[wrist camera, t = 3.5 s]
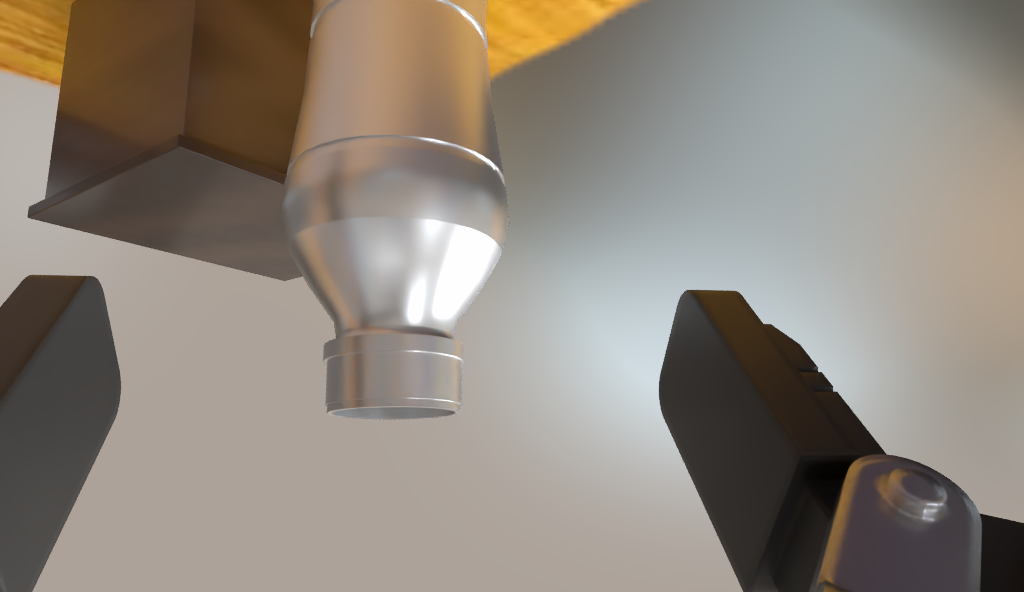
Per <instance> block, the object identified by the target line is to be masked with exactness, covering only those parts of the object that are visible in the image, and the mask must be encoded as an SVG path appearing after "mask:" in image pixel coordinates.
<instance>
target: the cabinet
mask: <svg viewBox="0 0 1024 592" xmlns="http://www.w3.org/2000/svg"><path fill="white" fill-rule="evenodd" d="M312 14H313V0H76V1H74V2H73V3H72V6H71V13H70V21H69V28H68V35H67V43H66V50H65V57H64V65H63V72H62V79H61V87H60V94H59V102H58V110H57V116H56V123H55V131H54V138H53V145H52V153H51V160H50V168H49V175H48V182H47V190H46V197H45V199H44V200H42V201H40V202H38V203H36V204H34V205H32V206H30V207H29V210H28V218H31V219H35V220H39V221H43V222H47V223H52V224H55V225H59V226H63V227H67V228H72V229H76V230H80V231H84V232H88V233H92V234H96V235H100V236H104V237H108V238H112V239H116V240H120V241H124V242H129V243H133V244H137V245H141V246H145V247H149V248H153V249H157V250H161V251H165V252H169V253H173V254H177V255H181V256H185V257H190V258H194V259H198V260H202V261H206V262H210V263H214V264H218V265H222V266H226V267H230V268H235V269H239V270H242V271H246V272H250V273H255V274H259V275H263V276H267V277H271V278H275V279H279V280H283V281H286V280H290V279H294V278H298V277H302V276H303V275H302V274H301V272H300V270H299V268H298V267H297V265H296V263H295V261H294V259H293V258H292V256H291V254H290V252H289V249H288V246H287V242H286V238H285V234H284V230H283V226H282V222H281V218H280V214H281V208H282V200H283V191H284V184H285V178H286V177H287V171H288V165H289V160H290V156H291V151H292V146H293V141H294V137H295V132H296V127H297V123H298V118H299V113H300V109H301V104H302V99H303V94H304V88H305V78H306V69H307V60H308V50H309V44H310V40H311V36H310V32H311V23H312Z"/></svg>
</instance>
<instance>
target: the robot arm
mask: <svg viewBox="0 0 1024 592" xmlns="http://www.w3.org/2000/svg"><path fill="white" fill-rule="evenodd" d="M120 394H121V380H120V371H119V366H118V361H117V356H116V351H115V346H114V341H113V336H112V331H111V326H110V321H109V317H108V312H107V306H106V301H105V297H104V292H103V289H102V286H101V284H100V282H99V281H98V279H97V278H95V277H93V276H59V275H29V276H27V277H26V278H25V279H24V280H23V281H22V282H21V283H20V284H19V286H18V287H17V288H16V289H15V290H14V291H13V293H12V294H11V295H10V297H9V298H8V299H7V300H6V301H5V302H4V303H3V305H2V306H1V307H0V592H32V591H33V589H34V587H35V585H36V583H37V580H38V578H39V576H40V574H41V572H42V570H43V568H44V566H45V564H46V562H47V560H48V558H49V555H50V553H51V551H52V549H53V547H54V545H55V543H56V541H57V539H58V537H59V535H60V533H61V530H62V528H63V526H64V524H65V522H66V520H67V518H68V516H69V514H70V512H71V510H72V507H73V506H74V503H75V501H76V499H77V497H78V495H79V493H80V491H81V489H82V487H83V485H84V483H85V481H86V479H87V476H88V474H89V472H90V470H91V468H92V466H93V464H94V462H95V460H96V458H97V456H98V454H99V451H100V449H101V447H102V445H103V443H104V441H105V439H106V437H107V435H108V433H109V431H110V429H111V426H112V424H113V422H114V420H115V418H116V415H117V412H118V407H119V402H120ZM659 400H660V406H661V411H662V414H663V417H664V419H665V422H666V424H667V426H668V428H669V430H670V433H671V435H672V437H673V439H674V441H675V443H676V446H677V448H678V450H679V452H680V454H681V457H682V459H683V461H684V463H685V465H686V467H687V470H688V472H689V474H690V476H691V478H692V480H693V483H694V485H695V487H696V489H697V491H698V493H699V496H700V498H701V500H702V502H703V504H704V507H705V509H706V511H707V513H708V515H709V518H710V520H711V522H712V524H713V526H714V528H715V531H716V533H717V535H718V537H719V539H720V541H721V544H722V546H723V548H724V550H725V553H726V555H727V557H728V559H729V561H730V563H731V566H732V568H733V570H734V572H735V574H736V577H737V578H738V581H739V583H740V585H741V587H742V590H743V592H1024V523H1020V522H1016V521H1011V520H1007V519H1002V518H998V517H993V516H988V515H983V514H979V512H978V510H977V508H976V506H975V505H974V503H973V501H972V500H971V499H970V498H969V497H968V495H967V494H966V493H965V492H964V491H963V490H961V488H960V487H958V486H957V485H956V484H955V483H954V482H952V481H951V480H950V479H948V478H947V477H945V476H944V475H942V474H941V473H939V472H937V471H935V470H933V469H932V468H930V467H928V466H925V465H923V464H921V463H919V462H916V461H913V460H910V459H907V458H902V457H898V456H893V455H887V454H886V453H885V452H884V451H883V449H882V448H881V447H880V446H879V444H878V443H877V442H876V441H875V439H874V438H873V437H872V435H871V434H870V433H869V431H868V430H867V429H866V428H865V426H864V425H863V424H862V423H861V421H860V420H859V419H858V418H857V416H856V415H855V414H854V413H853V411H852V410H851V409H850V407H849V406H848V405H847V404H846V402H845V401H844V400H843V399H842V397H841V396H840V395H839V394H838V392H833V386H832V385H831V383H830V382H829V381H828V380H827V378H826V377H825V376H824V375H823V373H822V372H818V367H817V366H816V364H815V363H814V362H813V361H812V360H811V358H810V357H809V356H808V354H807V353H806V352H805V351H804V349H803V348H802V347H801V345H800V344H798V343H797V342H795V341H794V340H793V339H791V338H790V337H788V336H787V335H785V334H784V333H783V332H781V331H780V330H778V329H777V328H775V327H774V326H773V325H771V324H763V323H762V322H761V320H760V319H759V318H758V316H757V315H756V314H755V312H754V311H753V310H752V308H751V307H750V306H749V304H748V303H747V302H746V300H745V299H744V298H743V296H742V295H741V294H740V293H739V292H737V291H714V290H687V291H685V292H684V293H683V294H682V296H681V297H680V300H679V302H678V305H677V309H676V313H675V317H674V321H673V325H672V329H671V334H670V337H669V342H668V346H667V350H666V354H665V358H664V362H663V366H662V370H661V374H660V381H659Z"/></svg>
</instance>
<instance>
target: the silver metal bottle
mask: <svg viewBox="0 0 1024 592" xmlns="http://www.w3.org/2000/svg"><path fill="white" fill-rule="evenodd" d="M486 10H487V0H313V14H312V23H311V32H310V36H311V40H310V44H309V50H308V60H307V69H306V78H305V88H304V94H303V99H302V104H301V109H300V113H299V118H298V123H297V127H296V132H295V137H294V141H293V146H292V151H291V156H290V160H289V165H288V171H287V177H286V178H285V184H284V191H283V200H282V208H281V214H280V218H281V222H282V226H283V230H284V234H285V238H286V242H287V246H288V249H289V252H290V254H291V256H292V258H293V259H294V261H295V263H296V265H297V267H298V268H299V270H300V272H301V274H302V275H303V277H304V279H305V281H306V283H307V284H308V286H309V288H310V289H311V290H312V292H313V293H314V295H315V296H316V298H317V299H318V300H319V302H320V303H321V305H322V306H323V307H324V309H325V310H326V312H327V313H328V315H329V316H330V317H331V319H332V320H333V322H334V327H335V334H336V339H334V340H331V341H329V342H327V343H325V345H324V356H323V362H324V363H325V364H326V365H327V380H326V404H325V405H326V407H327V414H328V415H330V416H335V417H342V418H354V419H386V420H387V419H388V420H392V419H393V420H395V419H425V418H439V417H447V416H453V415H457V414H459V413H461V410H460V406H461V405H462V365H463V364H464V363H465V346H464V344H462V343H461V342H459V341H456V340H454V335H455V328H456V323H457V322H458V321H459V319H460V318H461V316H462V315H463V314H464V312H465V311H466V310H467V308H468V307H469V306H470V304H471V303H472V301H473V300H474V299H475V297H476V296H477V295H478V293H479V292H480V290H481V289H482V287H483V286H484V284H485V282H486V280H487V279H488V277H489V275H490V273H491V272H492V270H493V268H494V267H495V265H496V263H497V261H498V260H499V258H500V255H501V253H502V249H503V245H504V242H505V238H506V234H507V231H508V227H509V216H508V205H507V194H506V187H505V184H504V175H503V169H502V163H501V157H500V151H499V145H498V139H497V133H496V127H495V121H494V115H493V109H492V103H491V88H490V73H489V60H488V53H487V48H488V44H487V30H486Z"/></svg>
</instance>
